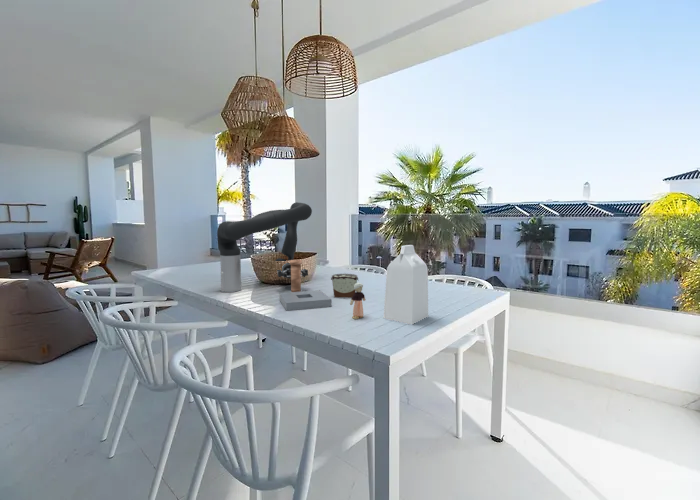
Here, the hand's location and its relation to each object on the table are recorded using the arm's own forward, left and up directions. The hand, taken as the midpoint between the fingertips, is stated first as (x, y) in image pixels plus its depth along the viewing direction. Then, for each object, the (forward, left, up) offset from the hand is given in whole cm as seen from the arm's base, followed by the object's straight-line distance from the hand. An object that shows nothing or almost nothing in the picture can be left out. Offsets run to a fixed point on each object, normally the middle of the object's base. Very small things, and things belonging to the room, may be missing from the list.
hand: (295, 275), depth 163 cm
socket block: (0, -19, -9) cm, 21 cm away
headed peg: (0, -1, -9) cm, 9 cm away
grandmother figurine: (+14, -45, -9) cm, 48 cm away
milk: (+30, -51, -9) cm, 60 cm away
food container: (+20, -13, -9) cm, 25 cm away
